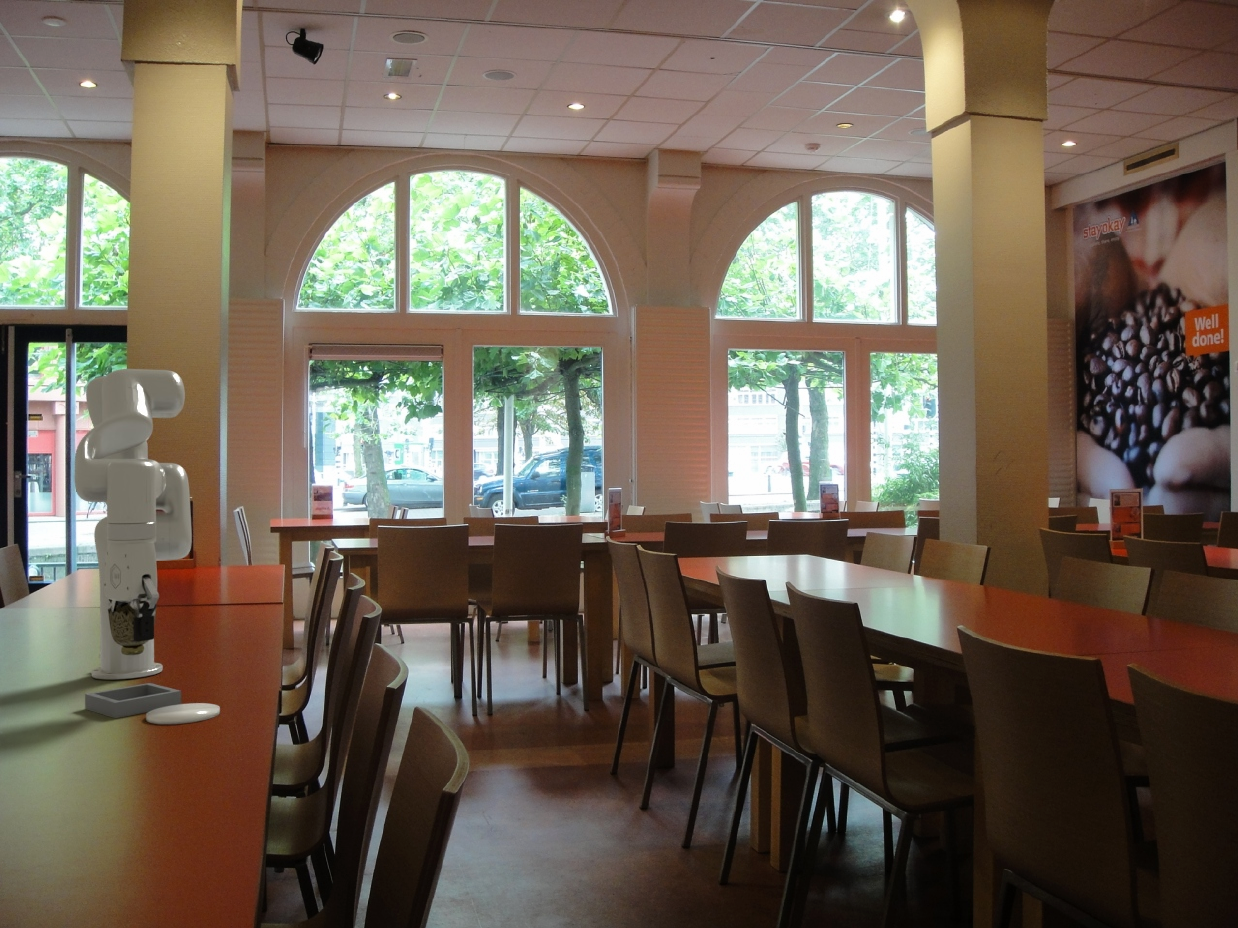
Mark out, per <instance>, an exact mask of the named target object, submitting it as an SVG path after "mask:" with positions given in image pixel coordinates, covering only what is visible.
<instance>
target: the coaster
mask: <svg viewBox="0 0 1238 928" xmlns="http://www.w3.org/2000/svg"><path fill="white" fill-rule="evenodd" d="M220 707H221V706H219V705H218V704H214V703H205V702H200V703H199V702H196V703H194V702H192V703H181V704H179V705H172V706H166V707H161V708H158V709H154V710H152V711H149V712H146V713H145V714H146V715H145V720H146V722H147V723H151V724H153V725H154V724H155V725H178V724H179V725H181V724H190V723H196V722H200V721H201V722H202V721H206V720H210V719H213V718H215V717H217V716H219V715H220V713H221V708H220Z"/></svg>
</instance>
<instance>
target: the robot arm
mask: <svg viewBox="0 0 1238 928" xmlns="http://www.w3.org/2000/svg"><path fill="white" fill-rule="evenodd" d="M183 382H184V381H183V379H182V377H180V375H179V374H178V373H176V372H175V371H172V370H167V369H146V368H145V369H144V368H143V369H141V368H121V369H116V370H112V371H110V372H109V373H108V374H107V375H102V376H98V377H95V378H93V379H91V380H90V381H89V382H88V384H87V386H86V390H85V394H86V395H85V396H86V397H85V398H86V406H87V411H88V415H89V419H90V421H91V424H92V426H93V427H92V428H91V429H90V430H89V431H88V432H87V433H86V434H85V435H84V436H83V437H82V438H81V440H79V443H78V445H77V448H76V449H75V455H74V475H73V478H74V488H75V492H76V494H77V496H78V497H79V498H80V499H81V500H83V501H85V502H90V503H105V505H106V516H105V517H102V518H101V519H100V520H98V522H97V523H96V525H95V527H94V535H93V536H94V545H95V550H96V556H97V561H98V562H97V563H98V569H99V570H98V574H99V576H98V577H99V606H100V607H99V622H100V623H99V624H100V625H99V630H100V633H99V635H100V654H99V655H98V657H99V659H100V667H96V668H94V669H93V670H92V671H91V677H92V678H94V679H97V680H127V679H129V680H130V679H138V678H145V677H149V676H150V677H151V676H153V675H156V674H159V673H161V672H162V671H163V668H164V667H163V664H162V663H159V662H155V624H154V616H155V617H156V615H155V608H156V606H157V607H158V605H157V603H158V600H159V599H160V594H159V592H158V571H157V568H158V567H157V561H173V560H174V561H175V560H180V559H181V560H182V559H184V558H186V557H187V556H188V555H189V554H190V553H191V552H190V551H191V549H192V543H193V541H192V539H193V538H192V537H193V536H192V535H193V534H192V517H191V516H192V515H191V496H190V485H189V478H188V474H187V472H186V470H185V468H184V467H182V466H181V465H180V464H178V463H173V462H158V461H156V460H154V459H150V458H149V457H148V456H149V454H148V453H149V450H148V448H149V447H148V446H149V445H148V442H147V441H148V440H149V438H150V437H151V435H152V434H153V430H154V424H153V423H154V422H153V418H154V419H155V418H156V419H157V418H158V419H161V418H162V419H169V418H170V419H171V418H175V417H177V416H178V415H179V414H180V413H181V411H182V410H183V408H184V405H185V400H186V399H185V397H186V391H185V386H184V385H185V384H184V383H183ZM157 510H161V511H163V512H157ZM127 604H128V605H130V606H131V607H132V608H134V610H135V614H136V617H135V618H134V641H136V642H139V641H146V640H149V641H148V642H146V643H145V644H143V645H144V647H145V649H144V652H143V653H141V654H138V655H123V654H122V653H121V647H122V646H121V645H119V644H117V643H116V642H115V641H114V639H113V637H112V634H111V629H110V622H109V614H108V609H109V608H110V609H111V610H112V612H113V611H115V612H116V607H117V606H120V607H121V608H122V607H123V606H125V605H127ZM141 607H142V608H141ZM156 609H157V608H156Z"/></svg>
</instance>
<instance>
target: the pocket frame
mask: <svg viewBox="0 0 1238 928" xmlns="http://www.w3.org/2000/svg"><path fill="white" fill-rule="evenodd" d="M179 704H182V690H179V689H175V688H170V687H167V686H164V685H158V684H156V683H151V682H146V683H142V684H137V685H129V686H124V687H123V686H122V687H119V688H113V689H112V688H111V689H108V690H100V691H95V692H89V693H85V694H84V709H85V710H88V711H91V712H94V713H97V714H101V715H103V716H107V717H110V718H113V719H119V718H123V717H129V716H134V715H140V714H146V713H148V712H149V711H152V710H154V709H158V708H161V707H166V706H172V705H179Z"/></svg>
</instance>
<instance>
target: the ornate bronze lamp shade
mask: <svg viewBox="0 0 1238 928" xmlns="http://www.w3.org/2000/svg"><path fill="white" fill-rule="evenodd" d="M157 607H158V605H157V606H156V608H155V616H154V625H155V623H156V614H157V613H156V612H157ZM141 608H142V607H141ZM108 614H109V622H110V629H111V634H112V637H113V639H114V641H115V642H116V643H117V644H119V645H121V646H122V647H121V653H122V654H123V655H138V654H141V653H143V652H144V649H145V647H144V645H143V644H145V643H146V642H148V641H149V640H146V641H139V642H136V641H134V618H135V617H136V614H135V610H134V608H132V607H131V606H130V605H128V604H127V605H125V606H123V607H122V608H121V607H120V606H117V607H116V612H115V611H113V612H112V610H111V609H110V608H109V609H108Z"/></svg>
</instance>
